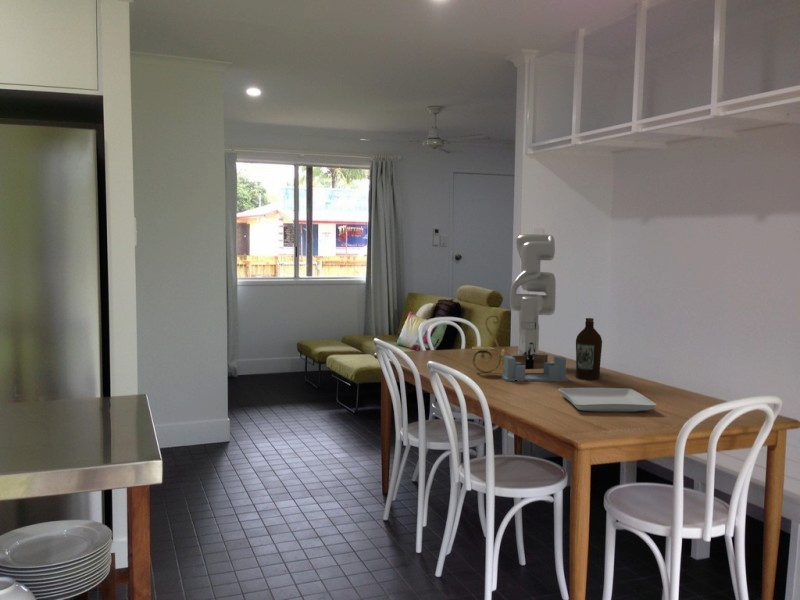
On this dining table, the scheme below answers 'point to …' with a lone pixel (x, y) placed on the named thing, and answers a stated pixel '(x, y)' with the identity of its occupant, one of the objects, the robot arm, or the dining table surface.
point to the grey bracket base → (551, 373)
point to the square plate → (607, 399)
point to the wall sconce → (486, 349)
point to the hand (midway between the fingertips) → (528, 366)
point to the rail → (538, 359)
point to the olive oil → (588, 352)
